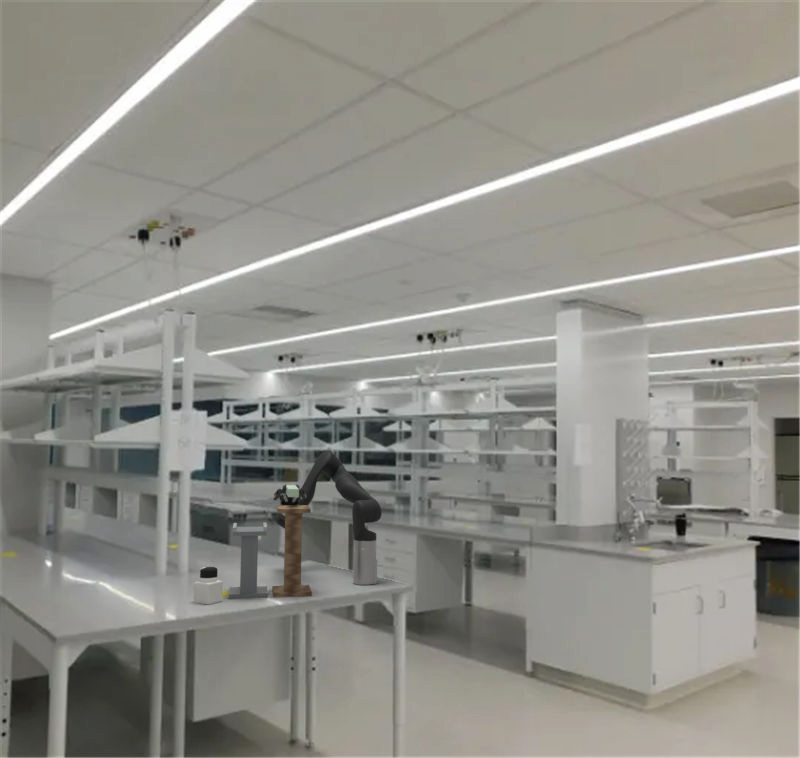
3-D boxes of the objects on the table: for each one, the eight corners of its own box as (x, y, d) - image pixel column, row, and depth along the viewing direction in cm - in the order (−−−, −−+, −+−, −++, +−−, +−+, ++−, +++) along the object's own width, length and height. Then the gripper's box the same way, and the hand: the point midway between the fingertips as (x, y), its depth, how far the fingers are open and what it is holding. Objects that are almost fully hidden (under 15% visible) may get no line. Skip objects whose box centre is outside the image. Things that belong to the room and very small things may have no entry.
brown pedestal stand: (308, 588, 287) (310, 505, 290) (311, 596, 272) (313, 508, 275) (272, 589, 285) (274, 505, 288) (273, 597, 269) (275, 509, 272)
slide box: (294, 492, 307) (295, 485, 307) (298, 497, 281) (298, 489, 281) (285, 492, 306) (285, 485, 306) (288, 497, 280) (288, 489, 281)
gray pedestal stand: (267, 589, 284) (268, 522, 287) (267, 598, 269) (269, 527, 271) (229, 590, 282) (231, 523, 284) (228, 599, 266) (230, 527, 268)
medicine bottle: (222, 601, 263) (223, 566, 264) (207, 604, 257) (208, 569, 258) (207, 598, 267) (208, 565, 268) (193, 602, 260) (194, 567, 262)
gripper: (272, 496, 313) (273, 478, 299) (305, 496, 316) (308, 478, 302) (272, 513, 309) (273, 495, 295) (306, 512, 311) (309, 494, 298)
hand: (291, 486), depth 298 cm, fingers closed on slide box, 4 cm apart
